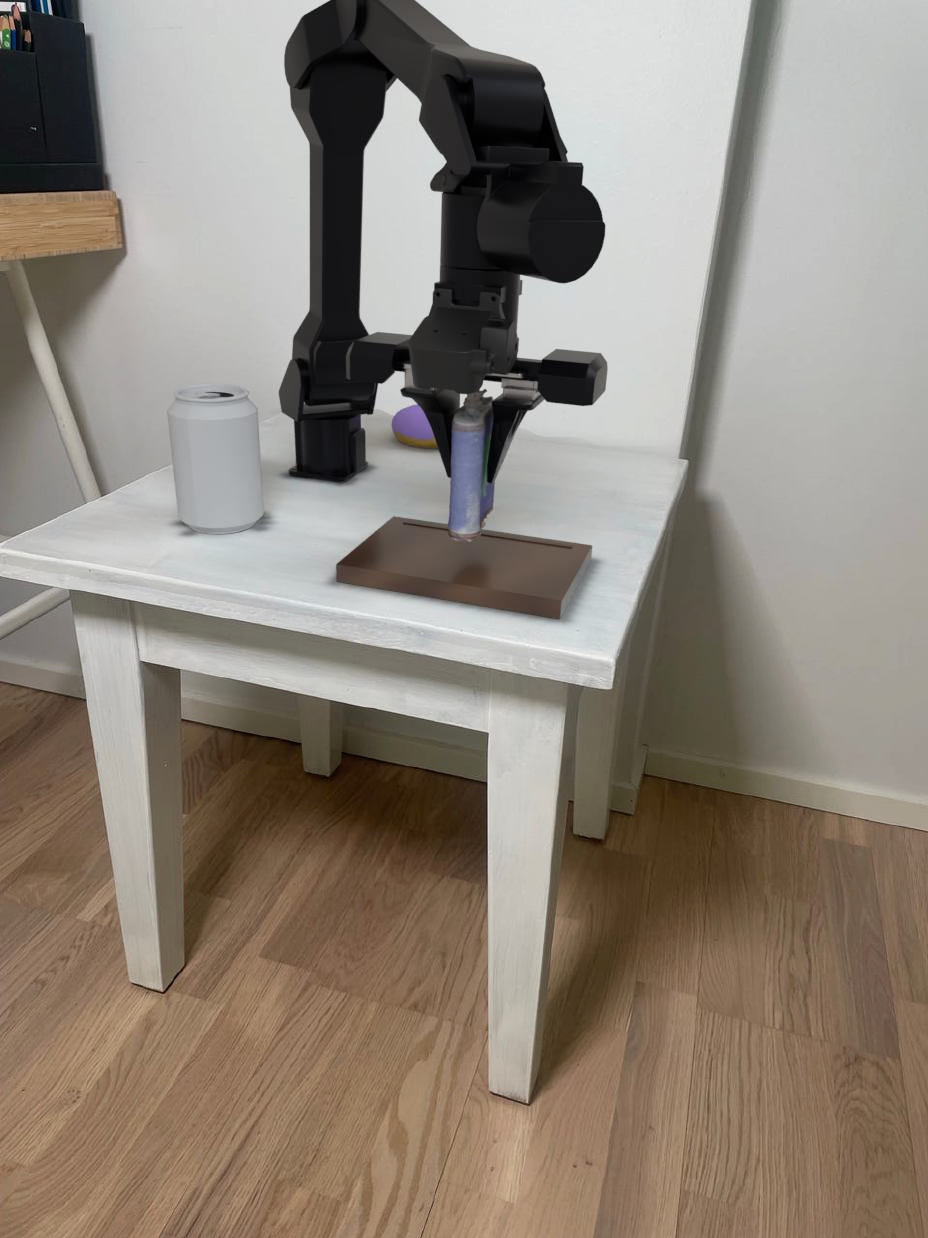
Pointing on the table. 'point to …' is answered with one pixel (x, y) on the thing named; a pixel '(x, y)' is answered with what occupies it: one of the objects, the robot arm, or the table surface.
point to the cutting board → (469, 566)
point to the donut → (413, 428)
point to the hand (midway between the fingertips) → (471, 479)
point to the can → (216, 458)
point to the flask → (470, 467)
